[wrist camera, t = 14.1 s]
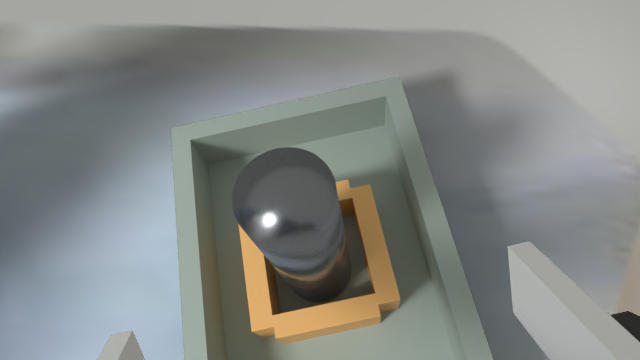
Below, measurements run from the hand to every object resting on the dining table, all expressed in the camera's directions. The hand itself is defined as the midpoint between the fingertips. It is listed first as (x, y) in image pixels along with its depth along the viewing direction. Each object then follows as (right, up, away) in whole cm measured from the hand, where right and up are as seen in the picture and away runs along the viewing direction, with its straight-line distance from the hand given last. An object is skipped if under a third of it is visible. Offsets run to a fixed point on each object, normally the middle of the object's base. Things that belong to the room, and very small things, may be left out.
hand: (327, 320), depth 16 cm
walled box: (0, -1, +13) cm, 13 cm away
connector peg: (0, -1, +12) cm, 12 cm away
